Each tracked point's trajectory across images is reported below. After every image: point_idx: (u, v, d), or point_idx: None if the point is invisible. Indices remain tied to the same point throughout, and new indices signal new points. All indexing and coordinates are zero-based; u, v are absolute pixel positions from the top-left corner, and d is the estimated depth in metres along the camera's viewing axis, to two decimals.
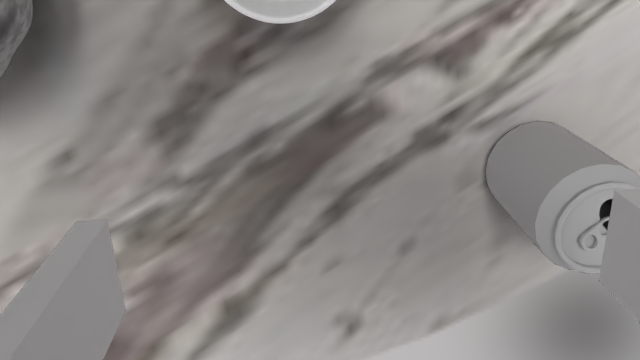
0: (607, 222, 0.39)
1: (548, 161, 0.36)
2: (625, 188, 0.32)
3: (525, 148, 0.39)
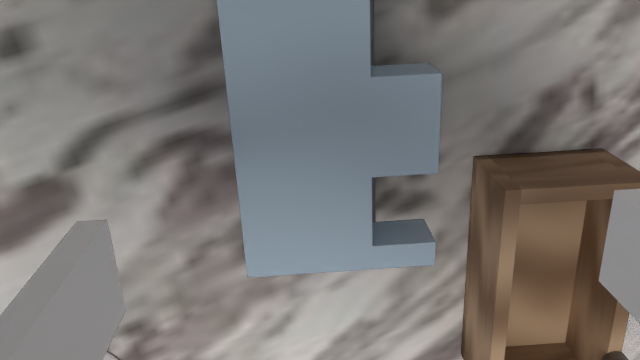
0: None
1: None
2: None
3: None
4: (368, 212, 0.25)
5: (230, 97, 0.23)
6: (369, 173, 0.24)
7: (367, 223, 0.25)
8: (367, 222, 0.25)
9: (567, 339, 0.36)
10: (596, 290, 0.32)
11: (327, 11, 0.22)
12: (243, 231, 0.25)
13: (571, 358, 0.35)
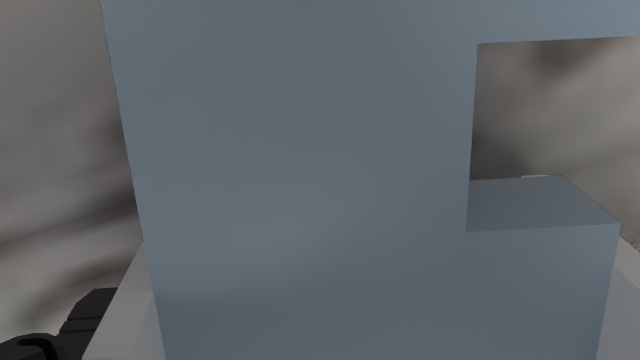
0: None
1: None
2: None
3: None
4: None
5: (156, 275, 0.10)
6: None
7: None
8: None
9: None
10: None
11: (376, 95, 0.09)
12: None
13: None
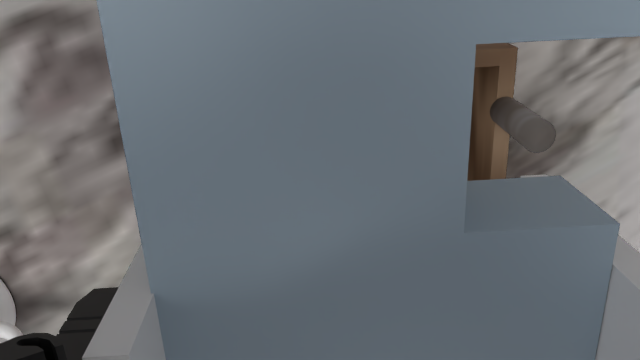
0: None
1: None
2: None
3: None
4: None
5: (154, 276, 0.10)
6: None
7: None
8: None
9: None
10: None
11: (373, 95, 0.09)
12: None
13: None
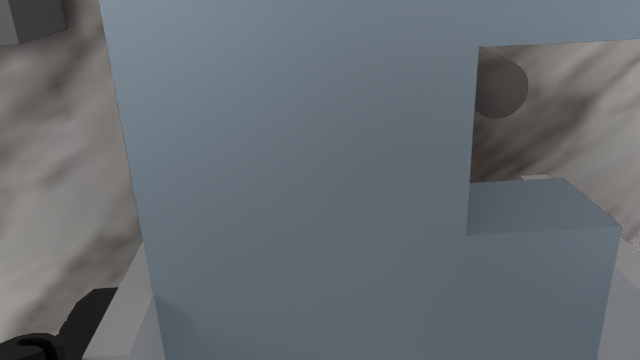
0: None
1: None
2: None
3: None
4: None
5: (156, 278, 0.10)
6: None
7: None
8: None
9: None
10: None
11: (376, 98, 0.09)
12: None
13: None
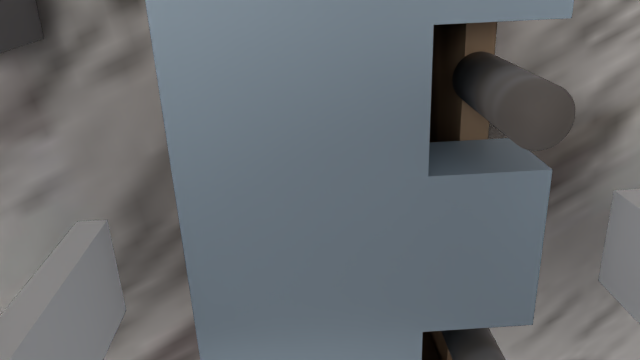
0: None
1: None
2: None
3: None
4: None
5: (182, 210, 0.13)
6: (419, 325, 0.15)
7: None
8: None
9: None
10: None
11: (355, 65, 0.12)
12: None
13: None
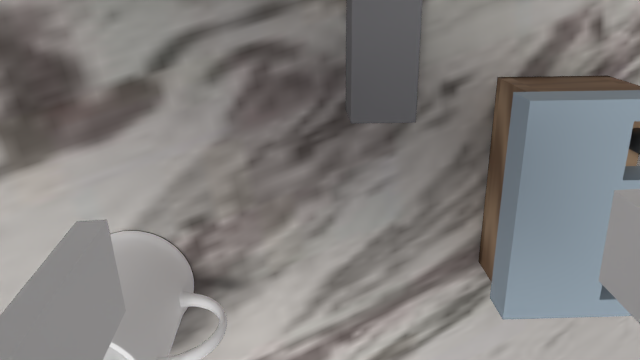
0: None
1: None
2: None
3: None
4: None
5: (521, 190, 0.32)
6: None
7: (599, 283, 0.34)
8: (599, 282, 0.34)
9: None
10: None
11: (601, 135, 0.31)
12: (508, 285, 0.34)
13: None
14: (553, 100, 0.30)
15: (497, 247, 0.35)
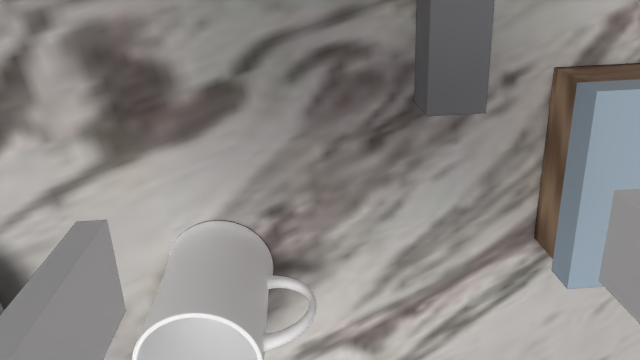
0: None
1: None
2: None
3: None
4: None
5: (586, 172, 0.35)
6: None
7: None
8: None
9: None
10: None
11: None
12: (572, 258, 0.37)
13: None
14: (617, 90, 0.33)
15: (559, 224, 0.39)
